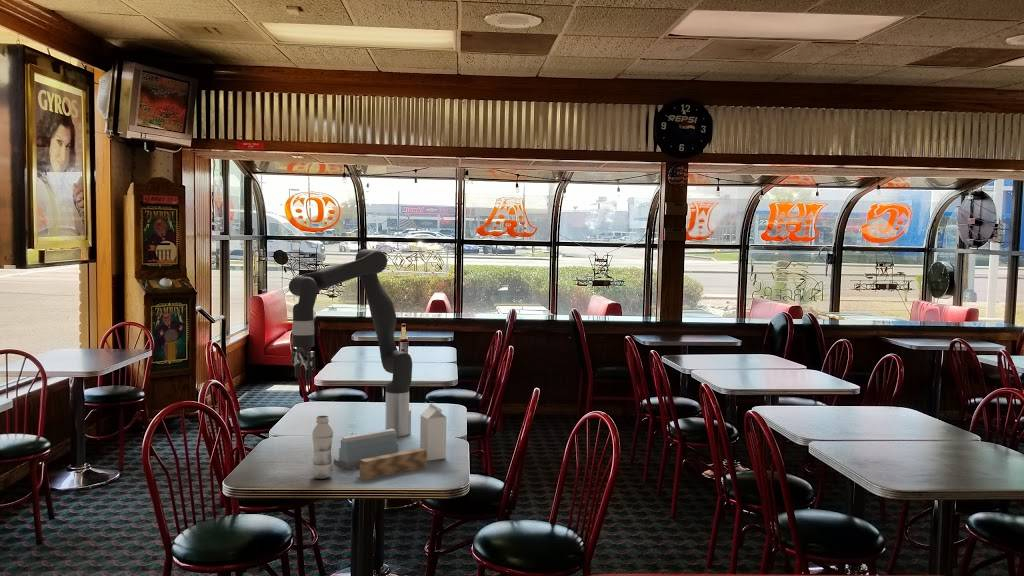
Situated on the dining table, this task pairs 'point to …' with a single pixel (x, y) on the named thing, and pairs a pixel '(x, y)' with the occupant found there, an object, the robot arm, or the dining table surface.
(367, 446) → the fulcrum ridge
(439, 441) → the milk carton
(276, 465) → the dining table surface
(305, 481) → the dining table surface
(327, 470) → the plastic bottle
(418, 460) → the walnut plank
